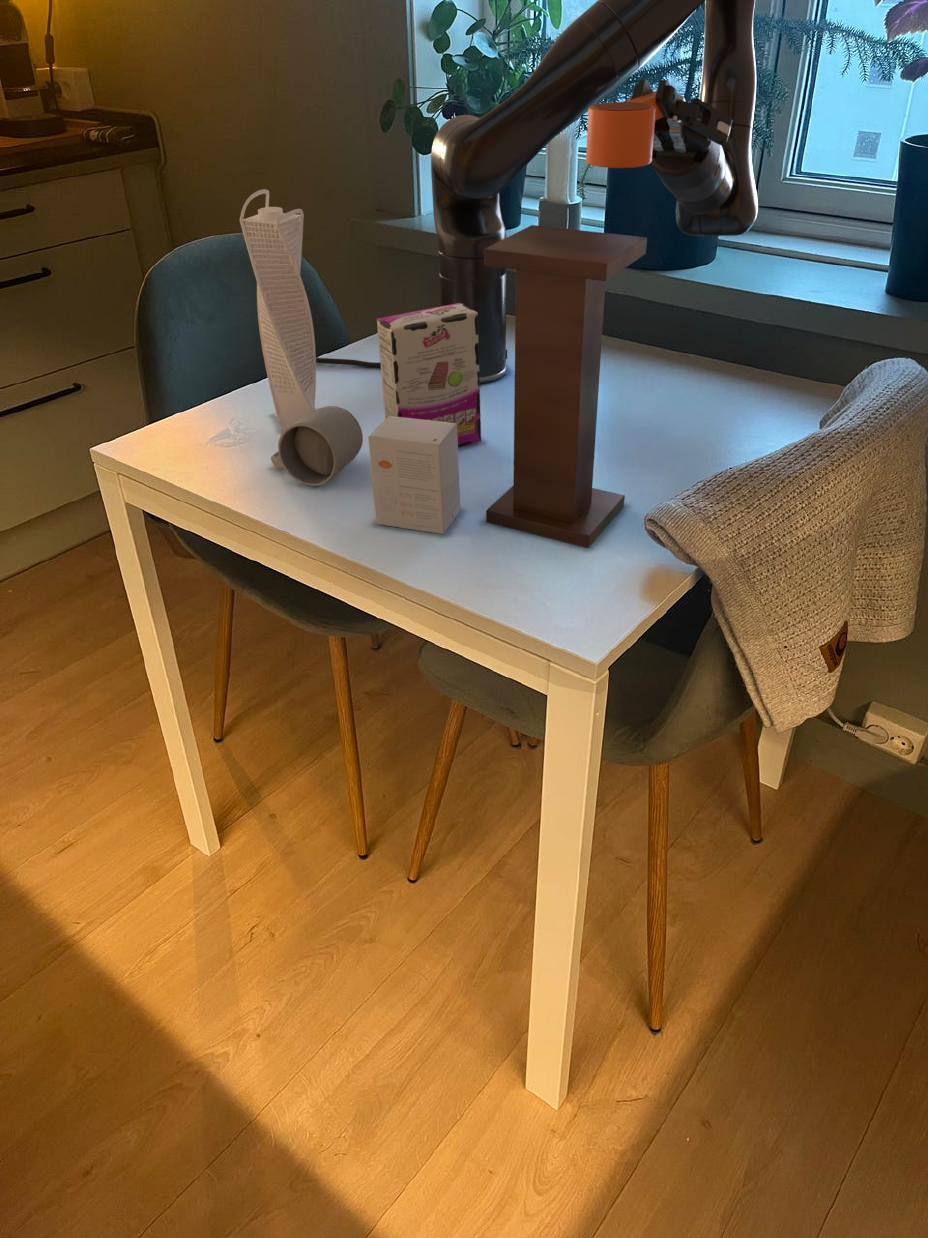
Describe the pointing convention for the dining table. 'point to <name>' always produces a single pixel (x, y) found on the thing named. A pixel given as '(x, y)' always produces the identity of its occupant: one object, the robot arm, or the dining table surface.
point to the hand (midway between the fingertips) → (650, 89)
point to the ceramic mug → (319, 445)
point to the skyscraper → (282, 308)
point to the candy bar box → (433, 367)
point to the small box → (415, 473)
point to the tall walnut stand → (558, 378)
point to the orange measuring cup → (622, 132)
